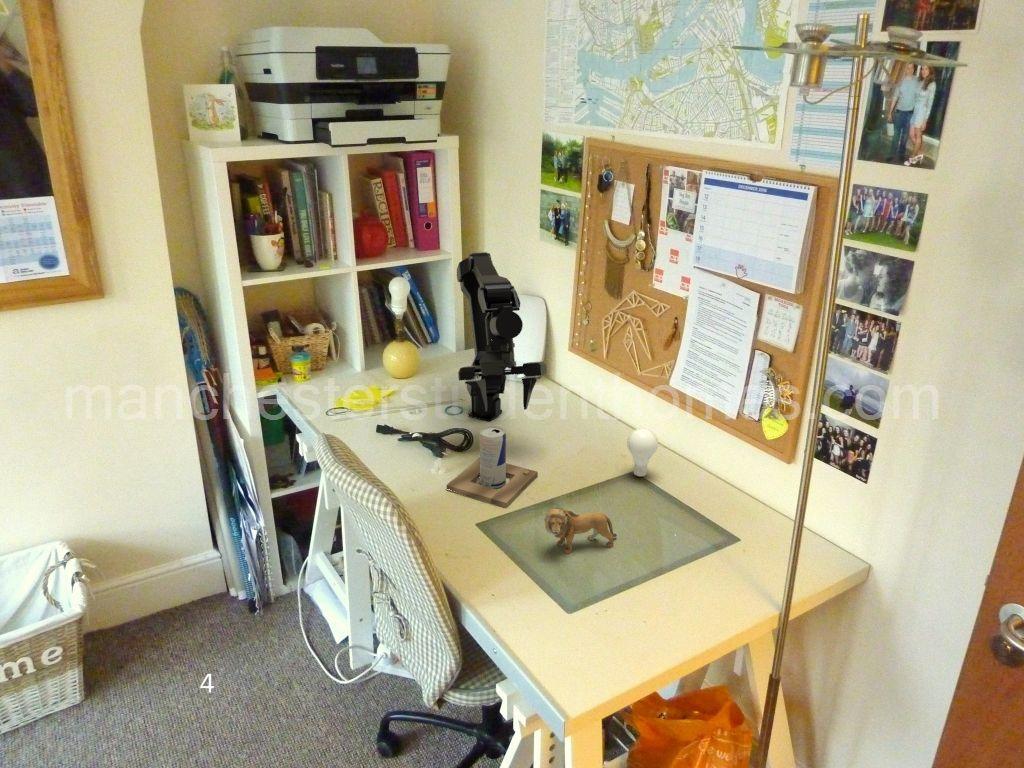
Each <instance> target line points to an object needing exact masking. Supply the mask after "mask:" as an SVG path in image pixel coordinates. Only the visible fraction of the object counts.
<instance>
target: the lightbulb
mask: <svg viewBox="0 0 1024 768" xmlns="http://www.w3.org/2000/svg"><path fill="white" fill-rule="evenodd" d="M658 446H659V442H658V438H657V436H656V434H655V433H654V432H653V431H652V430H650V429H647V428H643V427H641V428H637V429H634V430H633V431H632V432H631V433H629V435H628V438H627V449H628V451H629V453H630V454H631V456H632V460H633V463H634V466H633V474H634V476H637V477H639V478H641V477H645V476H646V475H647V470H648V464H649V462H650V459H651V458H652V457H653V455H654V454H656V452H657V450H658Z"/></svg>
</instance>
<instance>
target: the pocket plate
mask: <svg viewBox="0 0 1024 768" xmlns="http://www.w3.org/2000/svg"><path fill="white" fill-rule="evenodd" d="M538 473H539V472H538V471H535V470H533V469H529V468H525V467H523V466H522V467H521V466H517V465H514V464H511V463H507V462H506V478H507V479H510V480H509V481H508V482H506V483H505V484H504V485H503V486H502V487H500V488H499V489H498V488H497V489H493V488H490V487H486V486H483V485H482V484H479V483H476V482H477V481H478V480H479V479H480V478H479V477H480V456H479V457H478V458H477V459H476V460H474V461H473V462H472V463H471V464H470V465H468V467H466V468H465V469H464V470H463V471H462V472H460V473H459V474H458V475H457V476H456V477H455V478H453V479H452V480H450V482H448V483H447V484H446V490H447V489H450V490H452V491H455V492H457V493H456V494H458V493H460V494H459V495H461V494H463V495H462V496H464V495H466V496H465V497H468V496H469V497H468V498H471V497H472V498H471V499H474V498H476V499H475V500H478V499H479V500H478V501H481V500H482V501H481V502H484V501H485V503H488V504H492V505H494V506H498V507H502V508H504V509H507V508H508V507H509V506H510V505H512V503H513V502H515V500H516V499H517V498H518V497H519V496H520V495H521V494H522V493H523V492H524V491H525V490H526V489H527V488H528V487H529V486H530V485H531V484H533V482H534V481H535V480H536V479H537V478H538ZM478 478H479V479H478ZM477 479H478V480H477ZM476 480H477V481H476ZM475 481H476V482H475ZM474 482H475V483H474Z"/></svg>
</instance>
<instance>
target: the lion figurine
mask: <svg viewBox="0 0 1024 768" xmlns="http://www.w3.org/2000/svg"><path fill="white" fill-rule="evenodd" d="M543 520H544V527H545V530H546V532H547V533H549V534H551V535H552V536H555V538H557V539H559V540H558V541H556V544H557V546H559V547H561V546H563V545H564V544H565V542H566V547H565V548H564V549H563V550H564V553H566V554H570V553H571V552H572V548H573V540H574V538H575V535H580V534H585V533H587V532H590V531H591V530H592V529H593V534H589V535H587V539H588V540H590V541H593V540H595V539H596V537H598V536H599V535H600V536H601V537H603V538H605V539H607V540H608V541H607V542H605V543H606V544H605V546H606V547H608V548H612V547H613V546H614V538H616V537H618V536H617V533H614V529H613V524H612V520H611V519H610V517H609V516H608V515H607V514H605V513H603V512H601V511H597V510H593V511H590V512H587V513H582V514H576V513H574V512H573V511H572V510H568V509H567V510H566V509H565V508H559V507H556V508H551V509H550V510H549V511H547V512H546V514H545V517H544V519H543ZM608 528H609V529H608Z"/></svg>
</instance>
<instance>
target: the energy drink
mask: <svg viewBox="0 0 1024 768" xmlns="http://www.w3.org/2000/svg"><path fill="white" fill-rule="evenodd" d="M506 448H507V434H506V432H505V430H504V428H502V427H499V426H487V427H484V428H482V429H481V431H480V433H479V457H480V478H479V483H480V485H483V486H486V487H490V488H493V489H497V490H498V489H501V488H502V487H503V486H504V485H506V483H507V482H506V480H507V479H506V478H507V477H506V463H507V458H506V457H507V449H506Z"/></svg>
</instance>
